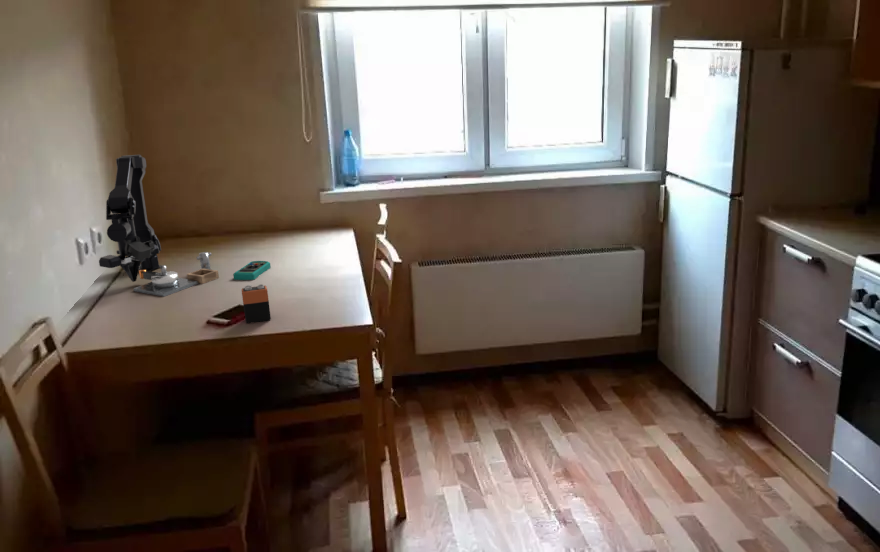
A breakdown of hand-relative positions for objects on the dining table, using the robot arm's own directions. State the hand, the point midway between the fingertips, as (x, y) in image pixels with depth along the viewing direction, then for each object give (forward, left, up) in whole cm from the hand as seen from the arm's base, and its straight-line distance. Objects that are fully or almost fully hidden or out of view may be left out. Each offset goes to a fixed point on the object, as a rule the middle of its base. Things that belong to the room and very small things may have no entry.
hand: (134, 281), depth 250 cm
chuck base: (+9, +5, -2) cm, 10 cm away
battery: (+59, -6, -3) cm, 59 cm away
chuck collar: (+5, +5, -1) cm, 7 cm away
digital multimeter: (+25, +28, -3) cm, 37 cm away
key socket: (+14, +16, -2) cm, 21 cm away
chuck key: (+9, +22, -2) cm, 24 cm away
